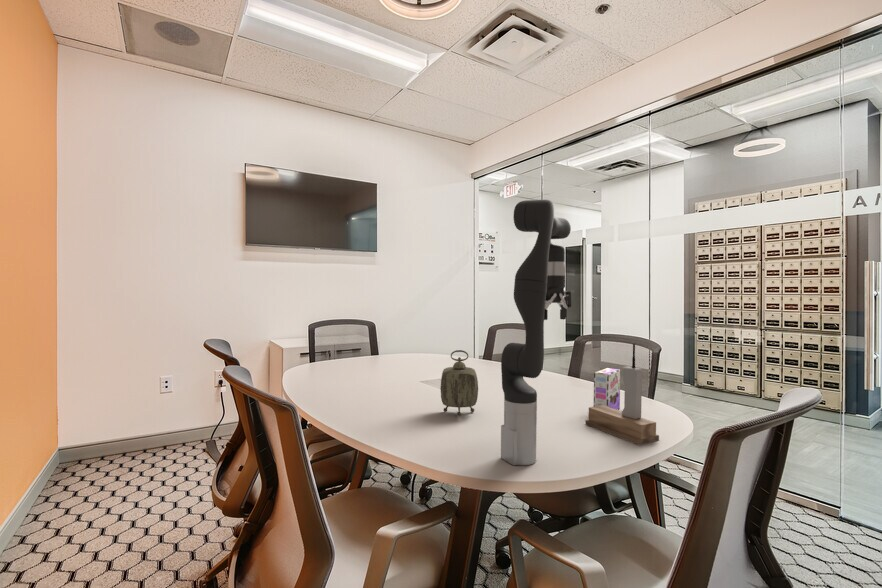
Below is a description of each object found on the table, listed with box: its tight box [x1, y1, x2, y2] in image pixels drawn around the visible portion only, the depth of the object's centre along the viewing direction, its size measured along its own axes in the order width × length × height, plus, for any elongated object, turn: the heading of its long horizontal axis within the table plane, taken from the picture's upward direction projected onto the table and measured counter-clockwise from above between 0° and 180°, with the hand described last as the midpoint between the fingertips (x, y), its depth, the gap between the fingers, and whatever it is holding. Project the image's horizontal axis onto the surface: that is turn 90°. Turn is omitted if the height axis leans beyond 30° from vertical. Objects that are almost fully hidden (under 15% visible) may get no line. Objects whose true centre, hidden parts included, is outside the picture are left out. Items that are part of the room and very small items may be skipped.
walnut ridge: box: [585, 405, 660, 446], centre depth 144 cm, size 10×22×6 cm, turn 27°
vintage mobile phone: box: [621, 343, 643, 419], centre depth 141 cm, size 4×5×25 cm
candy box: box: [592, 367, 621, 410], centre depth 169 cm, size 14×6×16 cm, turn 137°
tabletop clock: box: [439, 349, 479, 417], centre depth 162 cm, size 14×9×25 cm, turn 88°
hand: (553, 319), depth 151 cm, fingers open, 8 cm apart
